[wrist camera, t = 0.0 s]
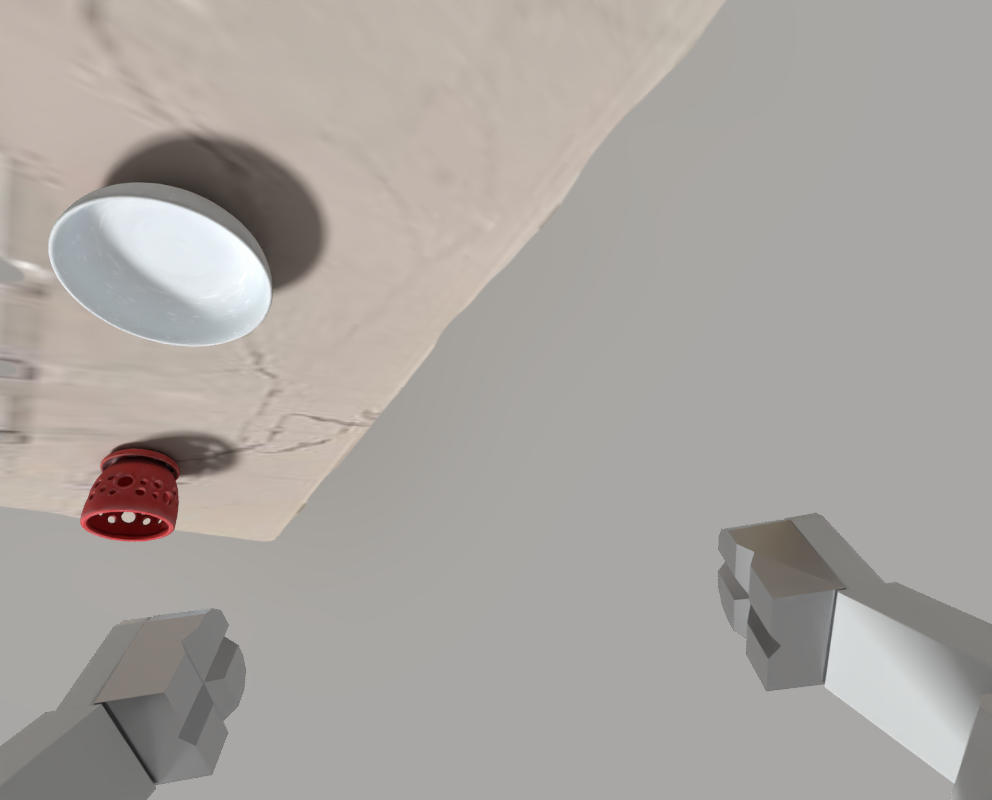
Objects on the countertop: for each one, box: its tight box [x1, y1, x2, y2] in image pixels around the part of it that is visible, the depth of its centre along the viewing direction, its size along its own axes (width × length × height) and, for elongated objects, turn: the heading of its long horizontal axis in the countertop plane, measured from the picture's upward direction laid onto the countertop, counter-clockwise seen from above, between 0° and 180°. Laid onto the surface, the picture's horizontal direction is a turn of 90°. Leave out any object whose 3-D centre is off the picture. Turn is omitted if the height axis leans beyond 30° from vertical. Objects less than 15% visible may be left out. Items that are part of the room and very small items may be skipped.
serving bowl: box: [48, 182, 273, 346], centre depth 65 cm, size 21×21×7 cm
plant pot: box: [80, 449, 180, 542], centre depth 97 cm, size 13×13×12 cm
